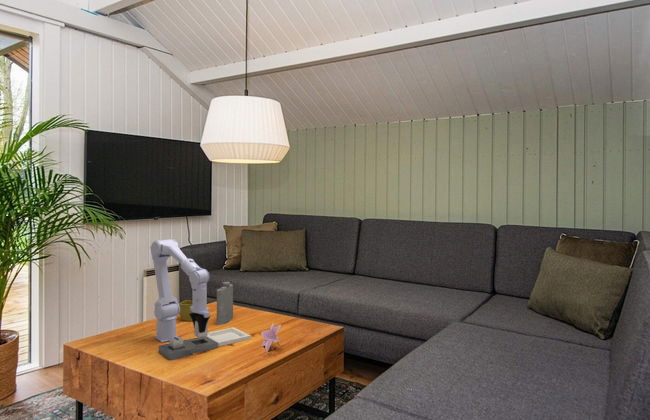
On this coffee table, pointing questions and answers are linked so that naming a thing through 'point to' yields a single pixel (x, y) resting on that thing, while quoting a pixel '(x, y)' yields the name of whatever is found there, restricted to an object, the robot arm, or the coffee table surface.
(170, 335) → the robot arm
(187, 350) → the metal frame
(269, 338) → the lily
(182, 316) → the flower pot
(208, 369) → the coffee table surface
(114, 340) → the coffee table surface
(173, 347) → the billet
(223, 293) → the hip flask
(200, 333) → the block
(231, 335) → the white square tray
